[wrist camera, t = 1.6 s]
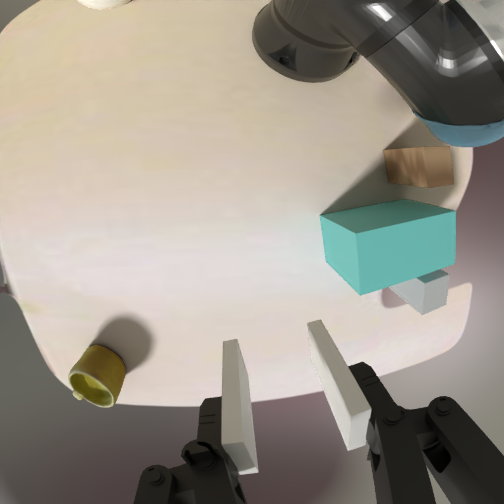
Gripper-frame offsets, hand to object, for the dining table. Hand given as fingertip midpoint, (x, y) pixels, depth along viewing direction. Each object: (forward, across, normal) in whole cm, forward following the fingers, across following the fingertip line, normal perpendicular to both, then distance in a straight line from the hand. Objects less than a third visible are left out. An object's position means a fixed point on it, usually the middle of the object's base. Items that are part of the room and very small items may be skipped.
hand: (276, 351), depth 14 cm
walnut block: (+25, +25, +7) cm, 36 cm away
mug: (+25, -32, -17) cm, 44 cm away
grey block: (+25, +24, -10) cm, 36 cm away
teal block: (+25, +18, -2) cm, 31 cm away
